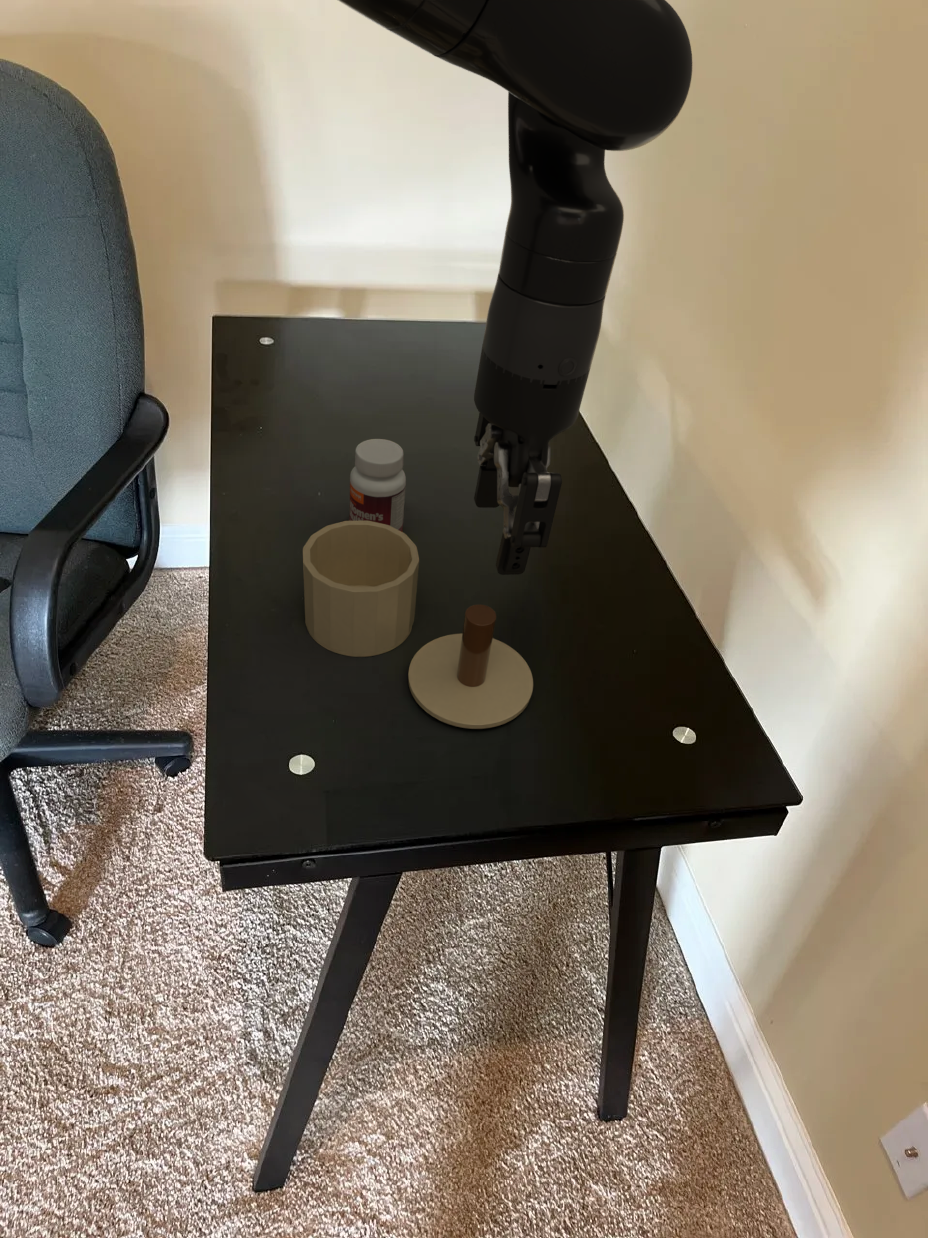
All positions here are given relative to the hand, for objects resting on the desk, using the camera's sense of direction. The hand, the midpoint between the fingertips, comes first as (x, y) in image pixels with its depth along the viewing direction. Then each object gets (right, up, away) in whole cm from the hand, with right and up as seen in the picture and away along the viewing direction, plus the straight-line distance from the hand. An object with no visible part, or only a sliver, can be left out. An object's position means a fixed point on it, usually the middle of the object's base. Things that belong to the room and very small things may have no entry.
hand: (497, 537), depth 67 cm
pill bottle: (-13, +3, +29) cm, 32 cm away
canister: (-13, -7, +18) cm, 23 cm away
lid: (-2, -13, +12) cm, 18 cm away
